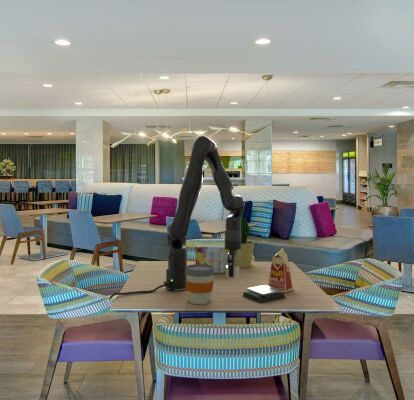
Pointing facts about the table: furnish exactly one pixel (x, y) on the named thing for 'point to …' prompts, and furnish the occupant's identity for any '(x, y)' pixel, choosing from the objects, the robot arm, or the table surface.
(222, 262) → the snack box
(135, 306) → the table surface
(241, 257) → the potted cactus
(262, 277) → the table surface
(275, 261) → the milk carton
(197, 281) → the reusable coffee cup
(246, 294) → the scale
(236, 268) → the white cup
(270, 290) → the grey square plate
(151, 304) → the table surface
